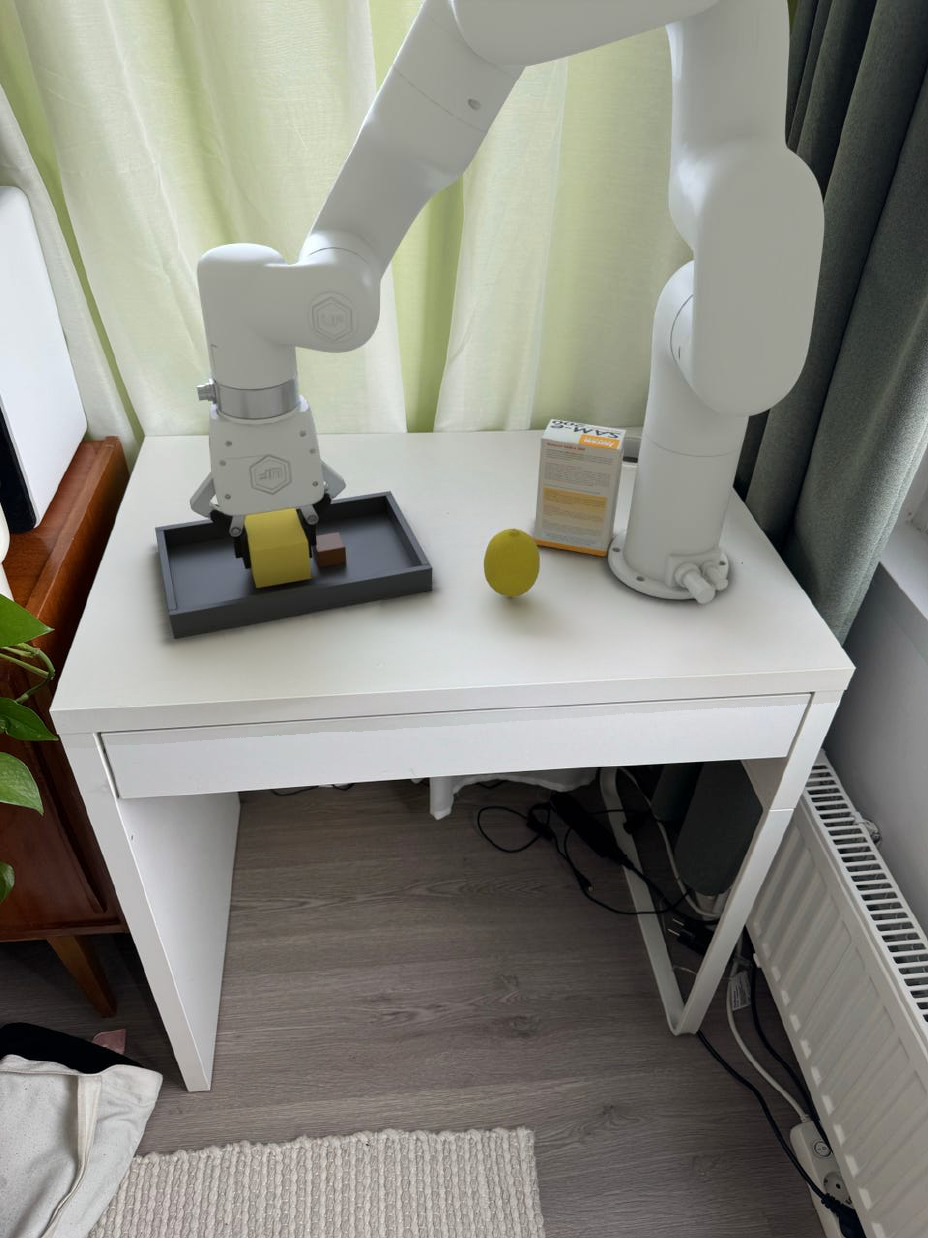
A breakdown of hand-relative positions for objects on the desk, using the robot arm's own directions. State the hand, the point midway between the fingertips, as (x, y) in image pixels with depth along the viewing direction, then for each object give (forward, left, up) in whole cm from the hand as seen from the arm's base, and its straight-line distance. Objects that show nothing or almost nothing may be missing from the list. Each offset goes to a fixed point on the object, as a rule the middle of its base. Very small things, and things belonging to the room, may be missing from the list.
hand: (276, 554), depth 95 cm
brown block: (0, -5, -2) cm, 6 cm away
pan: (0, -2, -2) cm, 3 cm away
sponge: (0, 0, -1) cm, 1 cm away
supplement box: (-4, -32, -2) cm, 32 cm away
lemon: (-11, -22, -2) cm, 24 cm away
